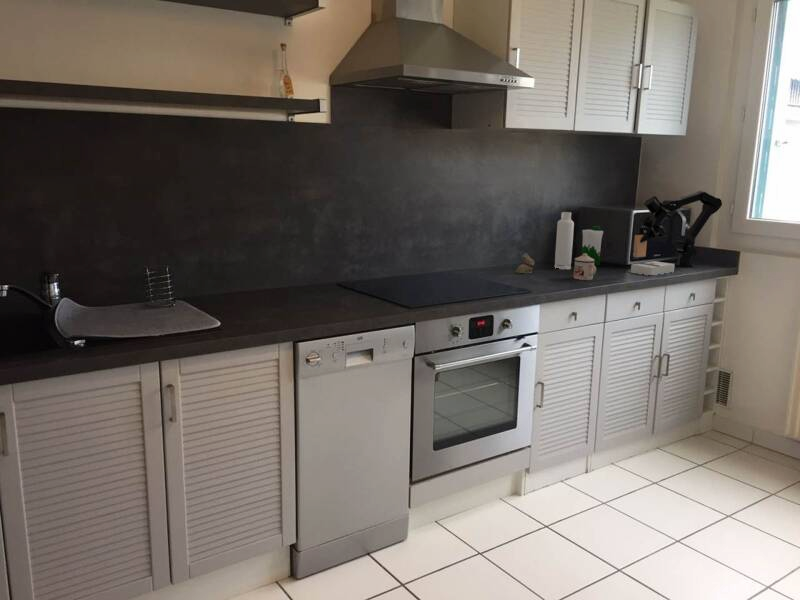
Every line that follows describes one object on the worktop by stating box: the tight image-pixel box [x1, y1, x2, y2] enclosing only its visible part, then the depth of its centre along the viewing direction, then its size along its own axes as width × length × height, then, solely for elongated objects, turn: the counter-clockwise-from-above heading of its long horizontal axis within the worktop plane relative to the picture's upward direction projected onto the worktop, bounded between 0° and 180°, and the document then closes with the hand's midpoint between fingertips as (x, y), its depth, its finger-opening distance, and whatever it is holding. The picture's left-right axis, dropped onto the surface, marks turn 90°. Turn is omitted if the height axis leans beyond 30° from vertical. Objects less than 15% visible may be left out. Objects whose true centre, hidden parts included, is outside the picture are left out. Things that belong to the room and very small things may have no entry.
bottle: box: [554, 211, 575, 270], centre depth 325 cm, size 8×8×28 cm
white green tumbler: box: [581, 225, 604, 266], centre depth 339 cm, size 9×9×20 cm
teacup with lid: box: [573, 253, 597, 281], centre depth 298 cm, size 12×9×12 cm
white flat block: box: [630, 261, 676, 276], centre depth 320 cm, size 20×11×4 cm, turn 127°
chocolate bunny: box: [515, 252, 535, 274], centre depth 311 cm, size 6×8×10 cm
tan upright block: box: [632, 234, 648, 258], centre depth 330 cm, size 6×2×11 cm, turn 114°
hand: (638, 241), depth 329 cm, fingers closed on tan upright block, 2 cm apart
